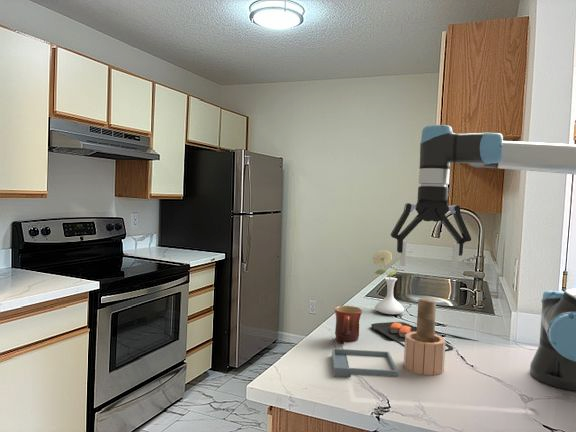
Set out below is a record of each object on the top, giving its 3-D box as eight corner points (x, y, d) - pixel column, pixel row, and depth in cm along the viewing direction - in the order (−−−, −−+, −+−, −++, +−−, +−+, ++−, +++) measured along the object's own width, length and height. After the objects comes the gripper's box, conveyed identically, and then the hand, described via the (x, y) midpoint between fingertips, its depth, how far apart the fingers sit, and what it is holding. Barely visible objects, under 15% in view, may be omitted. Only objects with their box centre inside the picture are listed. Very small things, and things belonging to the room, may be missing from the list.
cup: (437, 364, 122) (438, 332, 122) (448, 379, 112) (450, 345, 112) (400, 362, 123) (402, 330, 122) (408, 377, 113) (410, 343, 112)
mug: (334, 335, 144) (335, 304, 144) (361, 338, 143) (362, 307, 142) (330, 348, 133) (331, 314, 132) (359, 351, 131) (361, 317, 130)
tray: (388, 359, 125) (388, 351, 125) (397, 380, 111) (398, 371, 111) (331, 356, 126) (332, 348, 126) (334, 376, 112) (334, 367, 112)
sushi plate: (367, 328, 155) (368, 318, 155) (439, 324, 165) (440, 314, 164) (415, 359, 128) (416, 346, 127) (498, 351, 137) (499, 339, 137)
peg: (429, 364, 120) (433, 298, 119) (434, 371, 115) (438, 303, 114) (413, 363, 120) (416, 298, 119) (416, 370, 116) (420, 302, 115)
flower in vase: (403, 310, 180) (406, 249, 178) (404, 318, 168) (407, 253, 167) (371, 307, 183) (373, 247, 181) (369, 314, 171) (372, 250, 170)
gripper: (476, 187, 118) (471, 266, 119) (382, 184, 120) (378, 261, 121) (487, 187, 111) (482, 271, 112) (387, 183, 112) (382, 266, 113)
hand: (428, 266), depth 116 cm, fingers open, 13 cm apart
